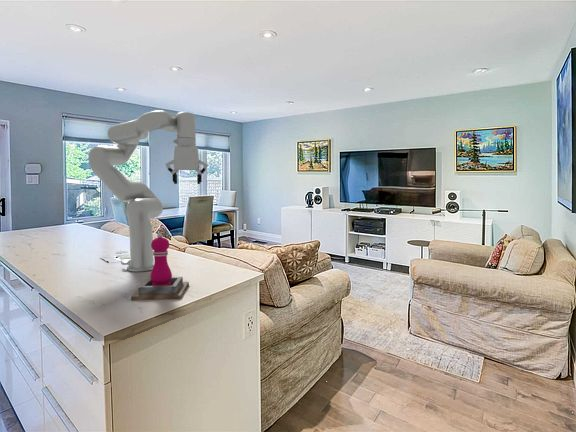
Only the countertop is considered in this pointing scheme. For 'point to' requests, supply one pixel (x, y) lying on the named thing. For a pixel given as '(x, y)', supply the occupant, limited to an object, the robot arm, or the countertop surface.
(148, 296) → the mill stand
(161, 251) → the pepper mill
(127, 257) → the tray
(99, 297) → the countertop surface
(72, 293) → the countertop surface
